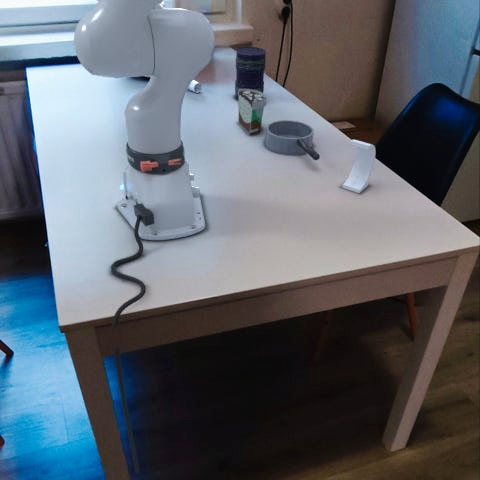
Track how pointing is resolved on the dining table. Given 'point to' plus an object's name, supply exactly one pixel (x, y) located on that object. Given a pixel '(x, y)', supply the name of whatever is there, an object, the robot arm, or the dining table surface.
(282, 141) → the saucepan
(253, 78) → the storage jar
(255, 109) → the food container
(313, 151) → the saucepan handle
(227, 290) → the dining table surface
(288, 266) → the dining table surface
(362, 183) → the headphone stand
